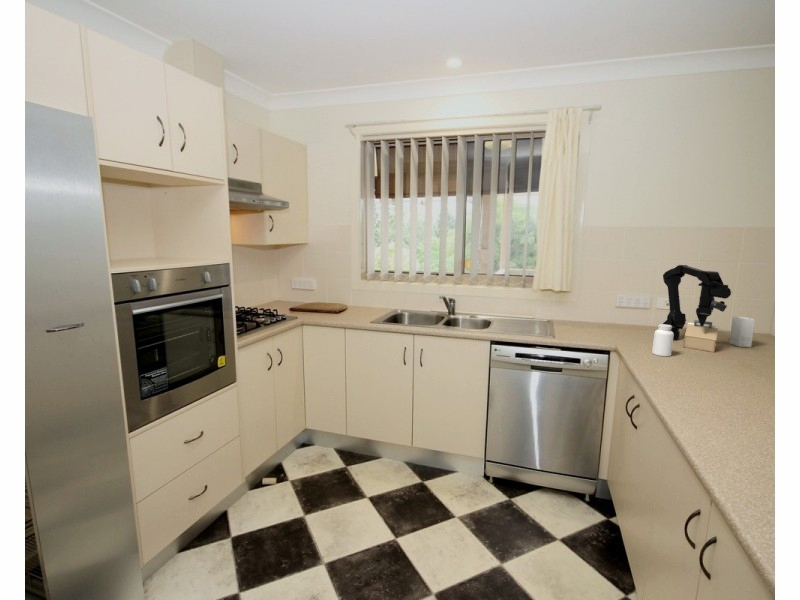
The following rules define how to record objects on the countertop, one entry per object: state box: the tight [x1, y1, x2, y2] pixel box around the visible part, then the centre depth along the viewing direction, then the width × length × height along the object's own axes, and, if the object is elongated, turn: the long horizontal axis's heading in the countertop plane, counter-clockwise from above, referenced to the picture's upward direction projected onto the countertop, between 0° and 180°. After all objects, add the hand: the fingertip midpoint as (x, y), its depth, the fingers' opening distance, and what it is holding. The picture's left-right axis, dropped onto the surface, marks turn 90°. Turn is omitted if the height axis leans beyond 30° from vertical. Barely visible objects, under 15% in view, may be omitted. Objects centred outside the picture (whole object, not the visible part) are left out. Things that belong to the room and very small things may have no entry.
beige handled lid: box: [684, 319, 719, 342], centre depth 204 cm, size 13×11×4 cm
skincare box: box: [728, 315, 756, 348], centre depth 213 cm, size 8×7×16 cm
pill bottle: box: [651, 323, 674, 357], centre depth 192 cm, size 8×8×15 cm
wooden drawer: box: [682, 335, 718, 353], centre depth 207 cm, size 13×11×6 cm
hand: (702, 324), depth 204 cm, fingers open, 9 cm apart
